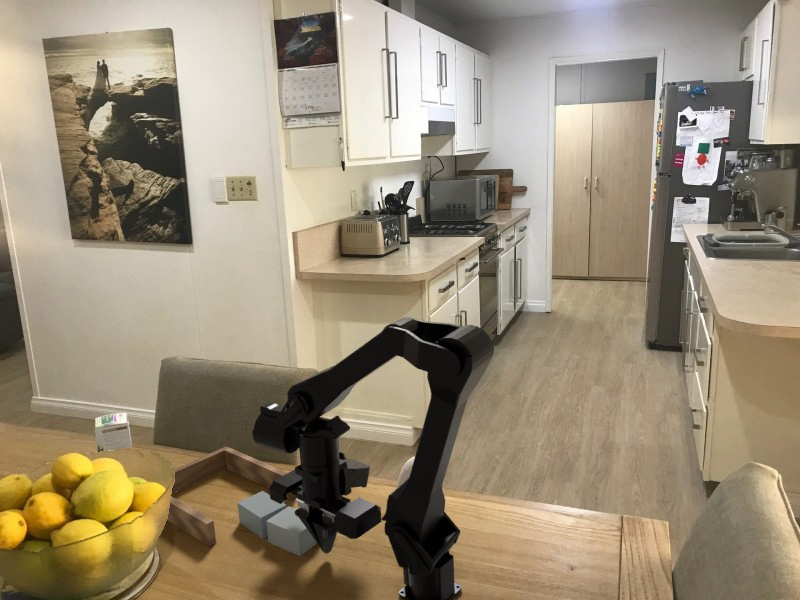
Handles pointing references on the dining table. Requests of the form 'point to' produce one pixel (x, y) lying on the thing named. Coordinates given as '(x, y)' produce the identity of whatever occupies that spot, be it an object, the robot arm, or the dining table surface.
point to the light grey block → (289, 532)
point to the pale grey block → (258, 512)
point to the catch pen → (207, 467)
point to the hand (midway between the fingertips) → (327, 551)
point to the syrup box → (112, 432)
